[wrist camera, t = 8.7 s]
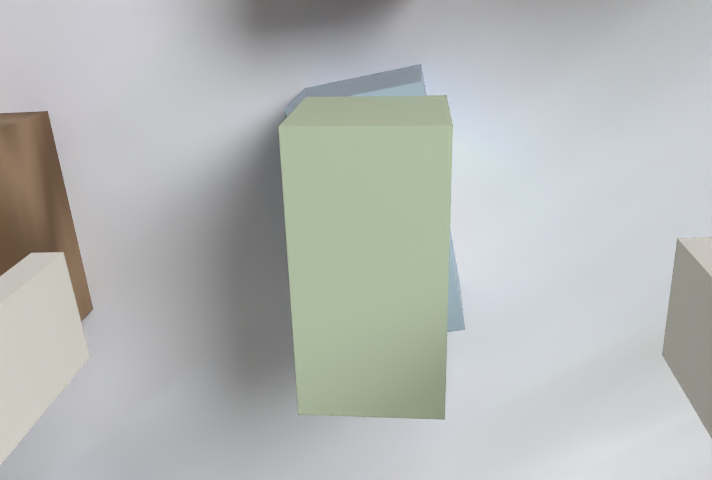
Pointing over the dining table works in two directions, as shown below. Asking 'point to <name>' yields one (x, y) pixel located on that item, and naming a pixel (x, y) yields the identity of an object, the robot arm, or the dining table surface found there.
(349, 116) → the sage brick
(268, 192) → the dining table surface
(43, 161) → the walnut brick
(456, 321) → the blue brick
